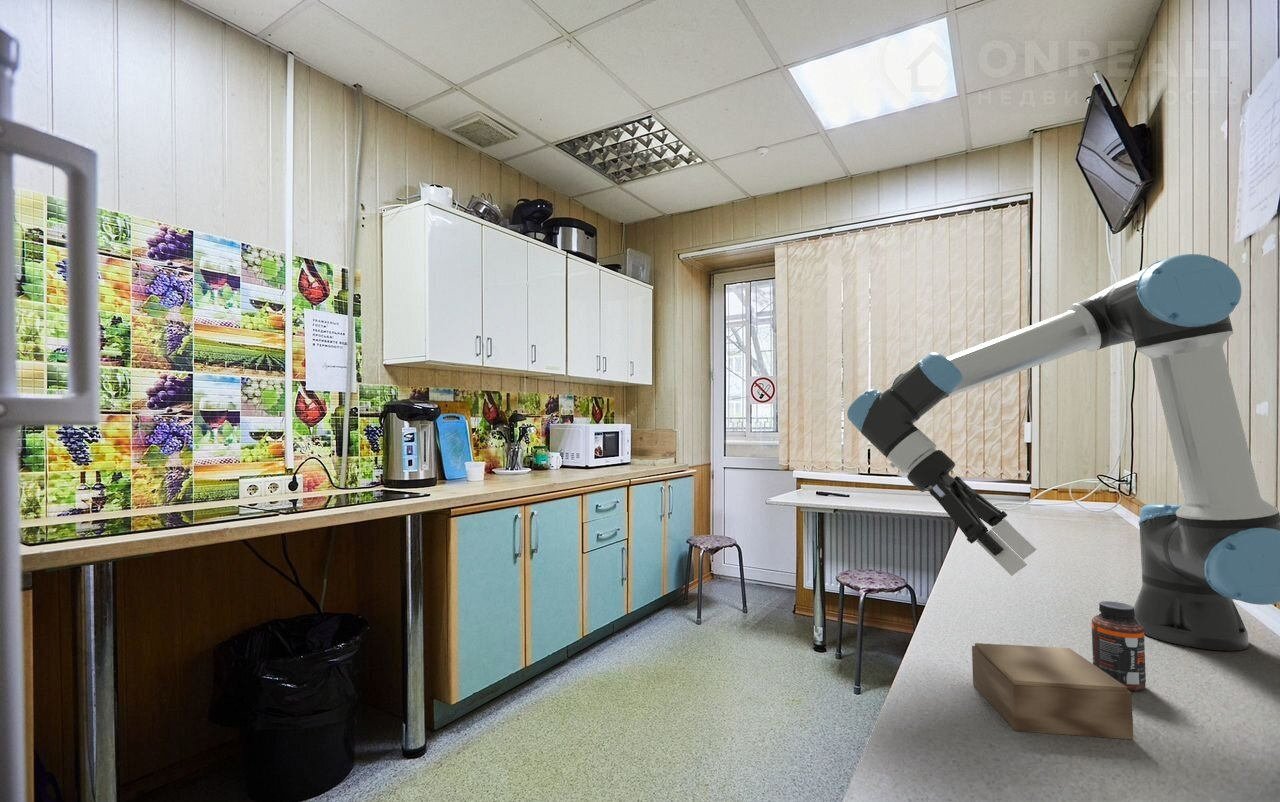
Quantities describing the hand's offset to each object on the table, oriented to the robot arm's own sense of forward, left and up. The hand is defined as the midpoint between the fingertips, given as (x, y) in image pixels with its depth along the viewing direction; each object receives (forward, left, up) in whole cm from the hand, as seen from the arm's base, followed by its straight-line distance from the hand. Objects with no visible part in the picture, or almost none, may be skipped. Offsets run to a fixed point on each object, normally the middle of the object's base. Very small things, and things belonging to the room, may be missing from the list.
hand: (1025, 562), depth 92 cm
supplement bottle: (-10, +5, -16) cm, 19 cm away
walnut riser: (+5, +15, -16) cm, 23 cm away
